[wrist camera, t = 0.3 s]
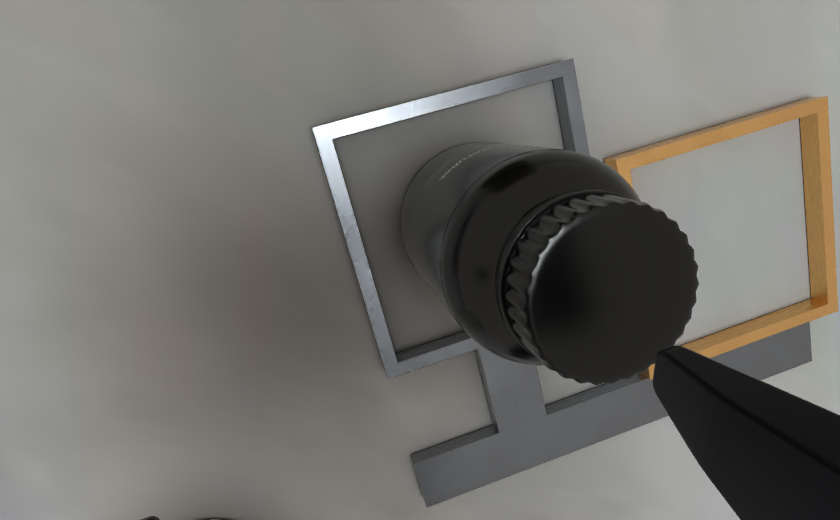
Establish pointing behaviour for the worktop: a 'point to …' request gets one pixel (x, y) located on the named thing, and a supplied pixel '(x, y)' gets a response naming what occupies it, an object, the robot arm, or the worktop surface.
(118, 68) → the worktop surface
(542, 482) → the worktop surface
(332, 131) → the silver gold metal frame
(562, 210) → the supplement bottle
